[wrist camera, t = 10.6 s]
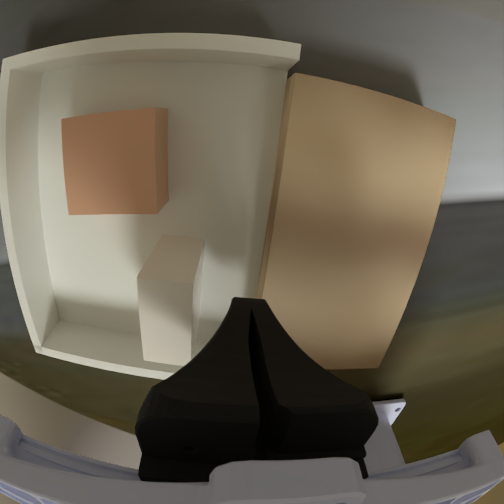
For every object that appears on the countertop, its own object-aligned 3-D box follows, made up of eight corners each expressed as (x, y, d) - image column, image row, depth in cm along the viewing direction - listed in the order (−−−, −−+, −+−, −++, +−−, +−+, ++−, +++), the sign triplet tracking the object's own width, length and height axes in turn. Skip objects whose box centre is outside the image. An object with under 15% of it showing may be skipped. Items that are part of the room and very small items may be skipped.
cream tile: (190, 366, 12) (143, 360, 12) (200, 311, 16) (162, 307, 16) (193, 283, 10) (136, 277, 10) (205, 239, 14) (162, 234, 14)
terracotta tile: (68, 215, 11) (88, 201, 13) (157, 214, 11) (168, 200, 13) (61, 119, 10) (83, 116, 11) (155, 107, 10) (167, 108, 12)
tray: (247, 348, 17) (248, 387, 15) (57, 322, 16) (36, 352, 14) (288, 59, 11) (301, 44, 8) (39, 63, 10) (2, 58, 8)
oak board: (365, 339, 17) (378, 367, 15) (249, 335, 17) (250, 367, 15) (426, 116, 12) (456, 119, 10) (285, 80, 12) (295, 72, 9)
